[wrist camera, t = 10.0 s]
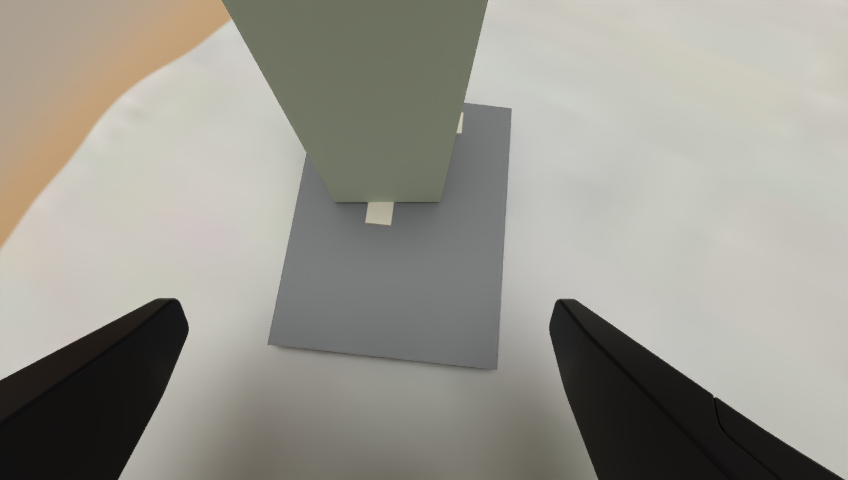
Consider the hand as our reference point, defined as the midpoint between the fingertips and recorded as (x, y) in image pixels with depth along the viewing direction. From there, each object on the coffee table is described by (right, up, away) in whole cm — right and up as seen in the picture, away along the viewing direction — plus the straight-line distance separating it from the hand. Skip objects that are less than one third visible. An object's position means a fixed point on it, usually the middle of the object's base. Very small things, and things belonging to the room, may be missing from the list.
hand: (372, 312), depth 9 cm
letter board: (0, +3, +10) cm, 10 cm away
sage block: (-1, +6, +9) cm, 11 cm away
